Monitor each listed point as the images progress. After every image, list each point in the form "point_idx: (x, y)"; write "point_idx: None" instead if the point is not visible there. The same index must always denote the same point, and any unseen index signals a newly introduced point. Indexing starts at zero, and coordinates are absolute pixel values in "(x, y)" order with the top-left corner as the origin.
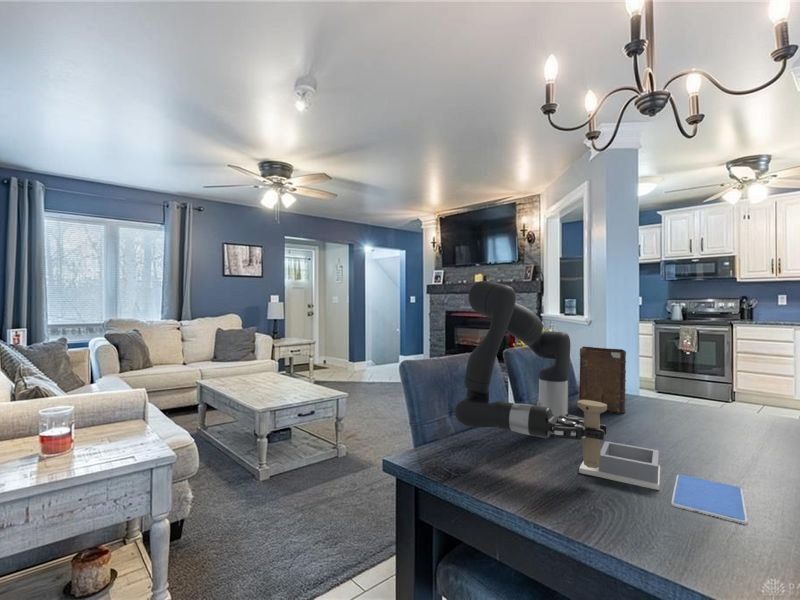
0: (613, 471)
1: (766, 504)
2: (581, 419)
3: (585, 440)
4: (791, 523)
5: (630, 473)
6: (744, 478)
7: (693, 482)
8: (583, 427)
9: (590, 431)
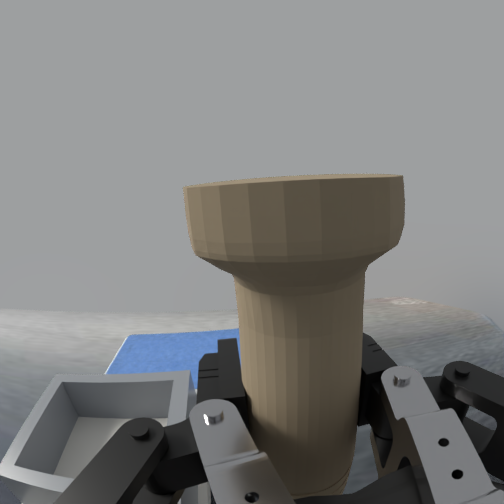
0: (195, 487)
1: (172, 323)
2: (150, 460)
3: (352, 453)
4: (224, 310)
5: None
6: (78, 336)
7: (136, 371)
8: (410, 372)
9: (389, 361)
